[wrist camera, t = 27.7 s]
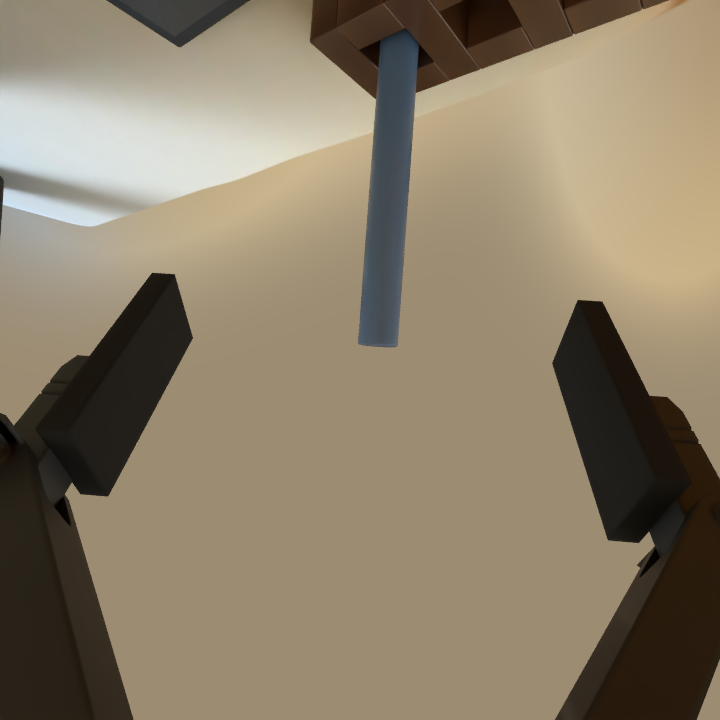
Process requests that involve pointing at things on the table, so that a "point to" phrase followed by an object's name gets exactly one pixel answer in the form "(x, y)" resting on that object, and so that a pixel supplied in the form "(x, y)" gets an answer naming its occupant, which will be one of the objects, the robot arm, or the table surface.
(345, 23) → the pen stand
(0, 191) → the travel mug
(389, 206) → the stylus
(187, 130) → the table surface
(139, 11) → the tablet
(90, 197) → the table surface
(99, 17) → the table surface
